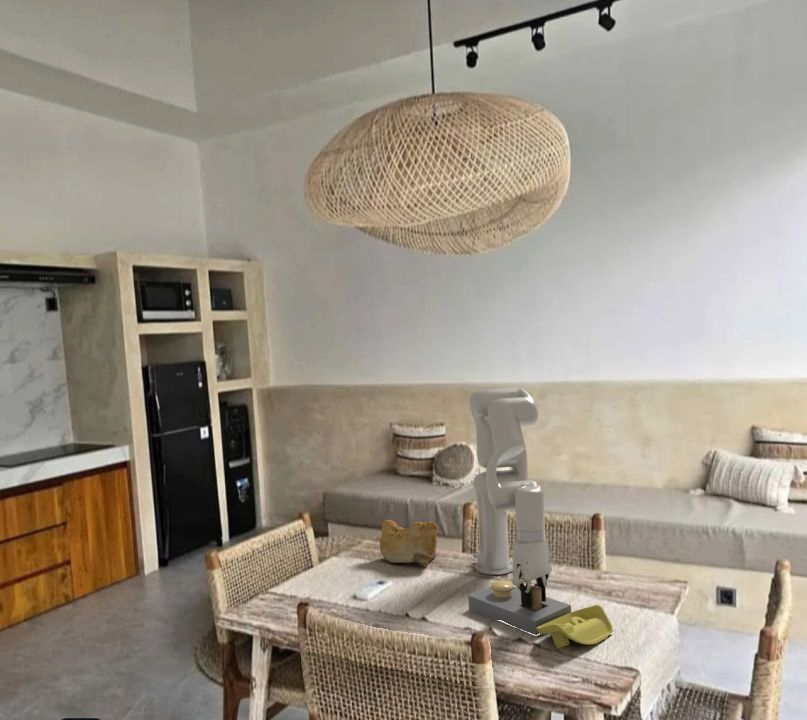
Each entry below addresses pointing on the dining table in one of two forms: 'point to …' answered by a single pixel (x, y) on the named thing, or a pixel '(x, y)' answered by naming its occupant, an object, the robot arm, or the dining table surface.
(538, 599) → the gear shaft
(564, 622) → the plastic component
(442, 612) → the dining table surface
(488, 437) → the robot arm
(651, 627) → the dining table surface
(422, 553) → the rough brown rock
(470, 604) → the grey block with hole
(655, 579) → the dining table surface
